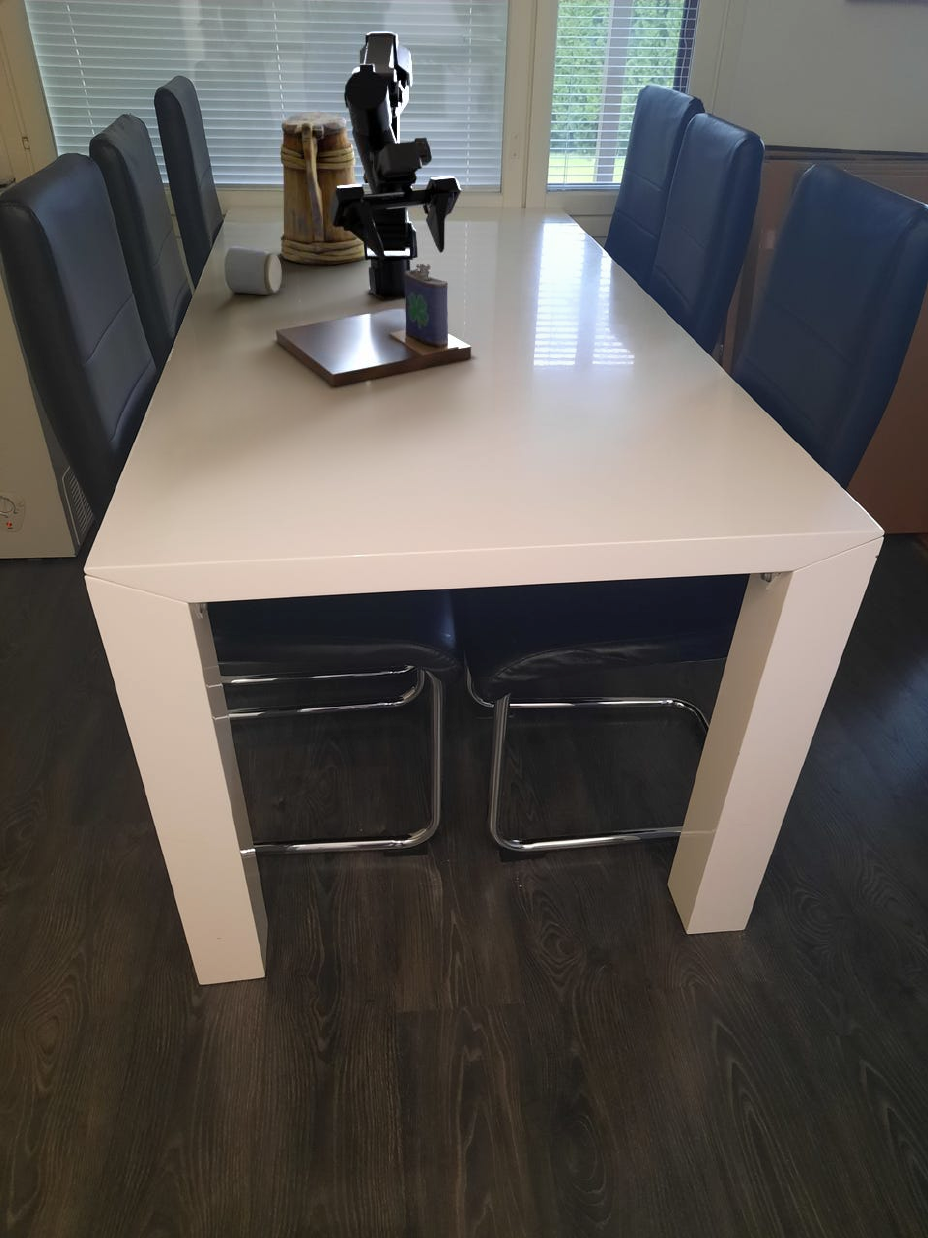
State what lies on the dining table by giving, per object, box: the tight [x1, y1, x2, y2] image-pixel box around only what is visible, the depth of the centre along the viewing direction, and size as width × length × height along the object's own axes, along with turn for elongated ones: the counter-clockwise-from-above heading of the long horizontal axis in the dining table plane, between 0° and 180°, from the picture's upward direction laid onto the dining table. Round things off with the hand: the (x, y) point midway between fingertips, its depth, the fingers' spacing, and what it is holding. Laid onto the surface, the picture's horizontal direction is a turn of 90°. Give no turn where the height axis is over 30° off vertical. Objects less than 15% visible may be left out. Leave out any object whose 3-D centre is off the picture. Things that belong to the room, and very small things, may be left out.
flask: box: [404, 263, 449, 348], centre depth 124 cm, size 9×3×11 cm, turn 37°
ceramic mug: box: [224, 245, 283, 296], centre depth 153 cm, size 11×8×8 cm
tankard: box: [280, 110, 365, 266], centre depth 167 cm, size 18×24×25 cm
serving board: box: [275, 307, 472, 388], centre depth 129 cm, size 22×22×2 cm
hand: (413, 254), depth 123 cm, fingers open, 9 cm apart
